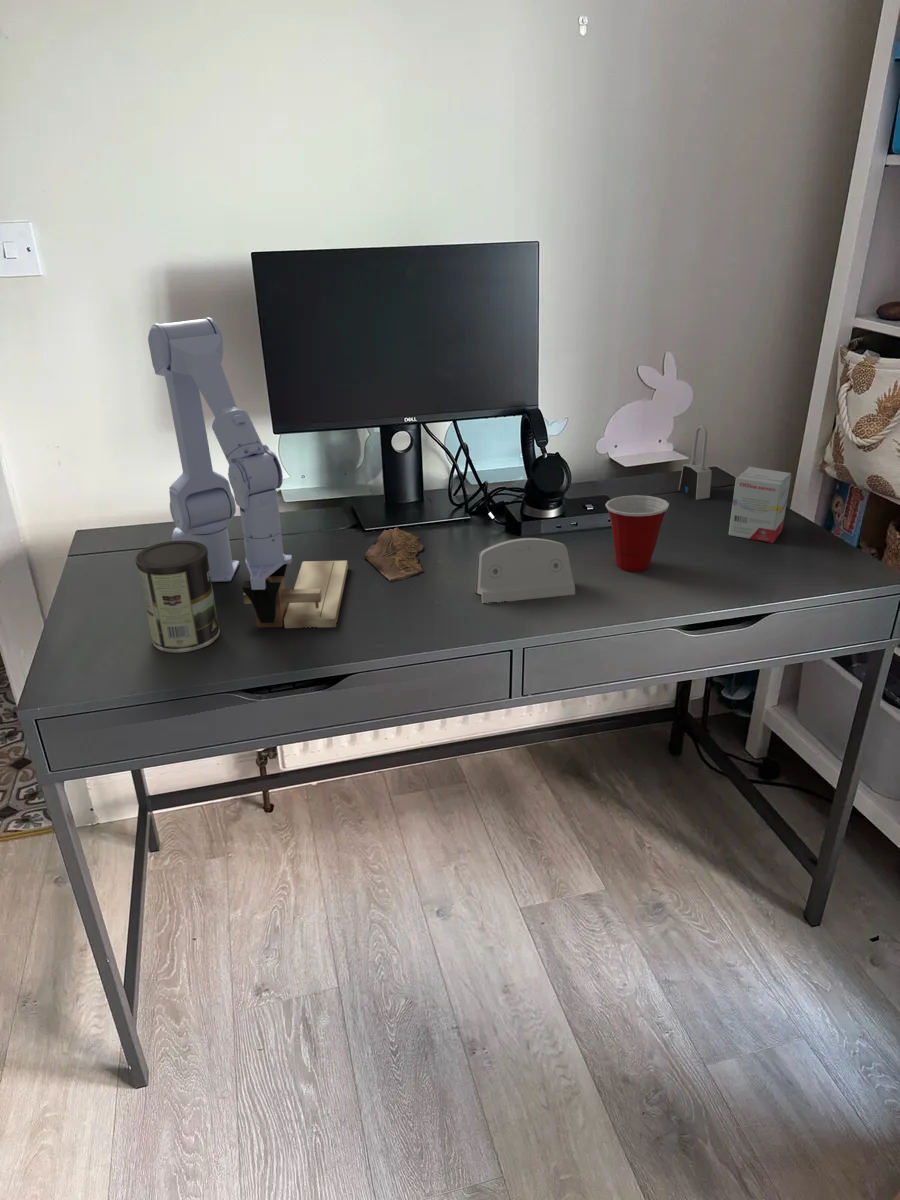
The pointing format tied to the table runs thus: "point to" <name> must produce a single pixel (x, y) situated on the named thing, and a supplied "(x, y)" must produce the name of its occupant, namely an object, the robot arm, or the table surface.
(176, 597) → the coffee can
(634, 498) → the plastic cup
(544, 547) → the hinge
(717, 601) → the table surface
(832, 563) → the table surface
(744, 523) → the ink box
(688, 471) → the padlock
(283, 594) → the gauge
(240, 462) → the robot arm
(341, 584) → the board
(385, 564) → the wooden fragment
